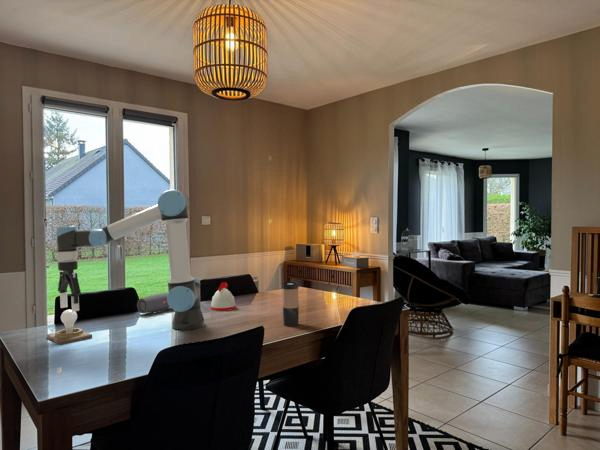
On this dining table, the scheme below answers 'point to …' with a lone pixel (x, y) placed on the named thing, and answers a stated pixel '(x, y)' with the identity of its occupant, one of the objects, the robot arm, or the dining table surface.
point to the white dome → (223, 299)
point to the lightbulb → (69, 320)
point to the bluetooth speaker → (153, 303)
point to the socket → (69, 336)
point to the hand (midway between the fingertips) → (69, 309)
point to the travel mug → (290, 304)
